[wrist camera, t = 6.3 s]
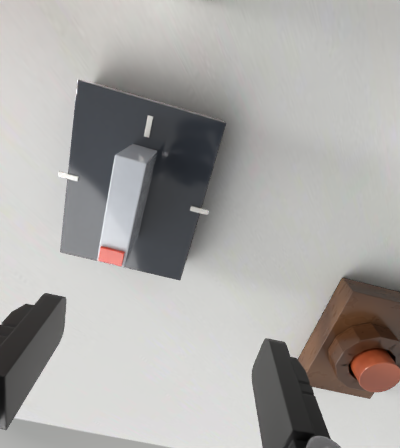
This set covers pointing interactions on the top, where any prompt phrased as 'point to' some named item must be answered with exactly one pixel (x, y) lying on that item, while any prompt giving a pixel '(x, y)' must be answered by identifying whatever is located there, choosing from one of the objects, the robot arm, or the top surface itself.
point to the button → (375, 370)
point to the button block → (351, 335)
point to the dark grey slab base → (160, 182)
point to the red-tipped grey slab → (126, 203)
